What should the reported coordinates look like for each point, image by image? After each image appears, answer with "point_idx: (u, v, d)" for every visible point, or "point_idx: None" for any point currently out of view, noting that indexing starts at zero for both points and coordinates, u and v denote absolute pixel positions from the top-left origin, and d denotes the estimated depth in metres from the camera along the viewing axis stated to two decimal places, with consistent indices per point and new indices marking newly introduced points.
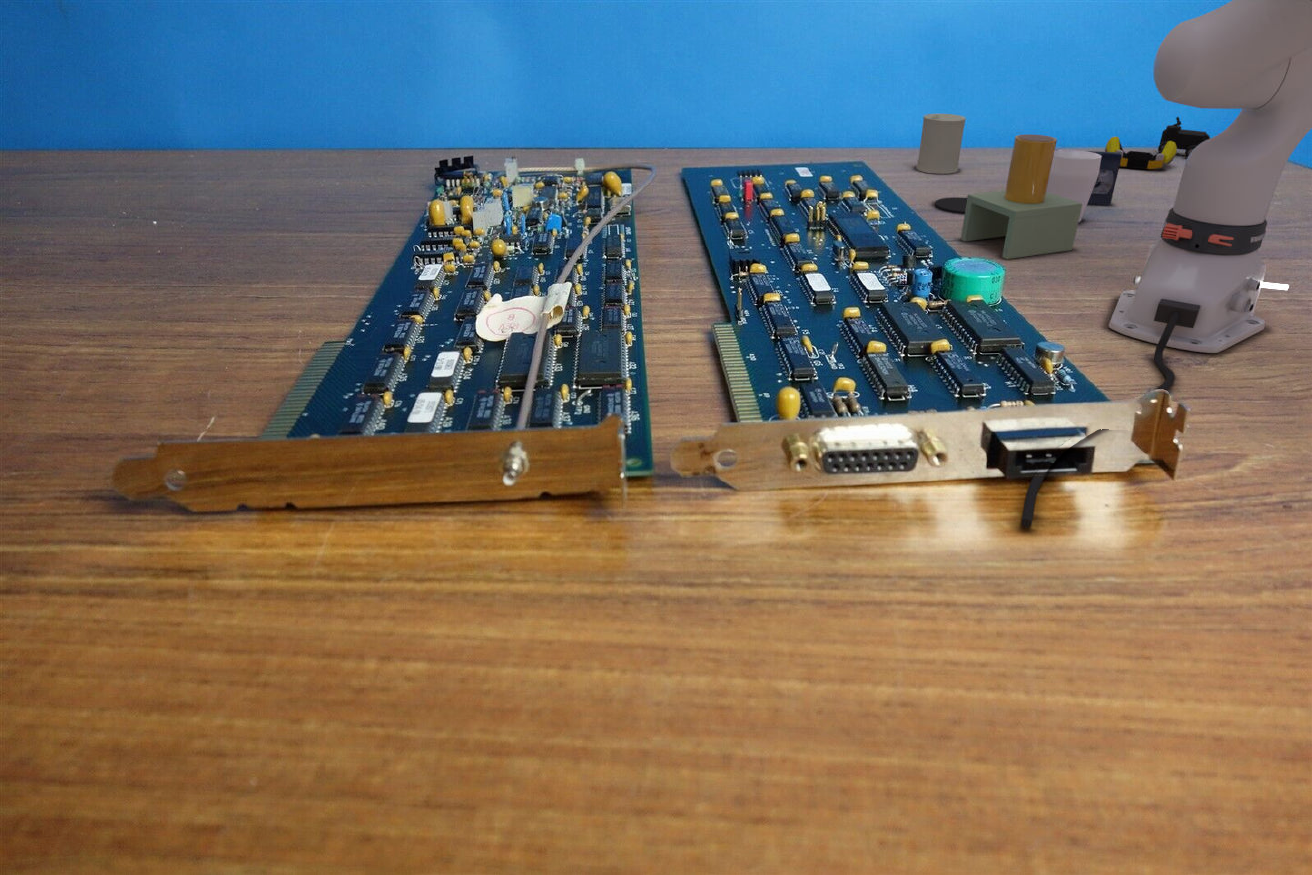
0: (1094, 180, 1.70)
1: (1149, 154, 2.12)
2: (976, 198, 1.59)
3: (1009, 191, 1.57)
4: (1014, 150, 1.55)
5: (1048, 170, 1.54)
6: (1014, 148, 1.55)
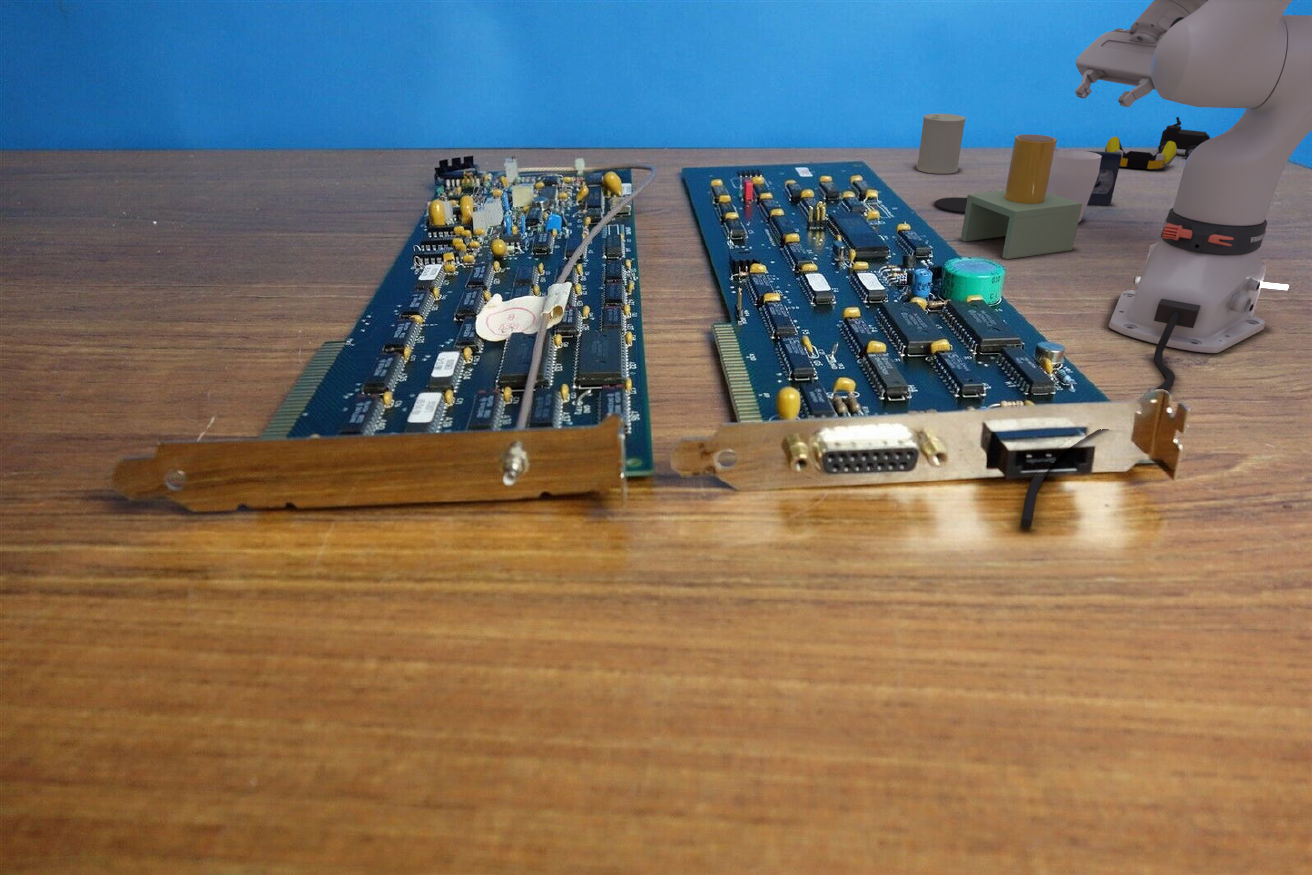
0: (1094, 180, 1.70)
1: (1149, 154, 2.12)
2: (976, 198, 1.59)
3: (1009, 191, 1.57)
4: (1014, 150, 1.55)
5: (1048, 170, 1.54)
6: (1014, 148, 1.55)
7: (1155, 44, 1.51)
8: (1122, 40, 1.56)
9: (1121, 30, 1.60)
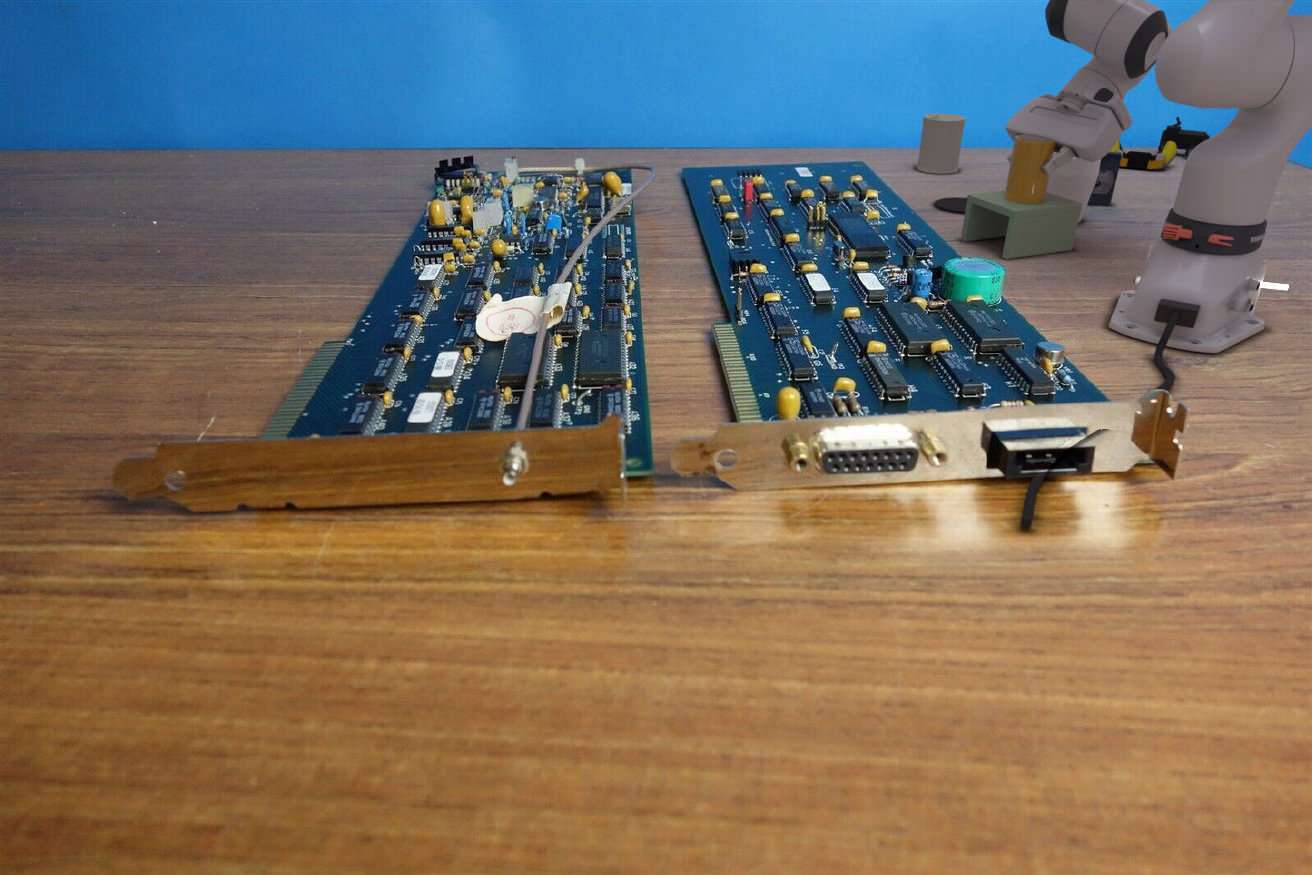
0: (1094, 180, 1.70)
1: (1149, 154, 2.12)
2: (976, 198, 1.59)
3: (1009, 191, 1.57)
4: (1014, 150, 1.55)
5: None
6: (1014, 148, 1.55)
7: (1080, 113, 1.51)
8: (1049, 107, 1.57)
9: (1050, 96, 1.60)
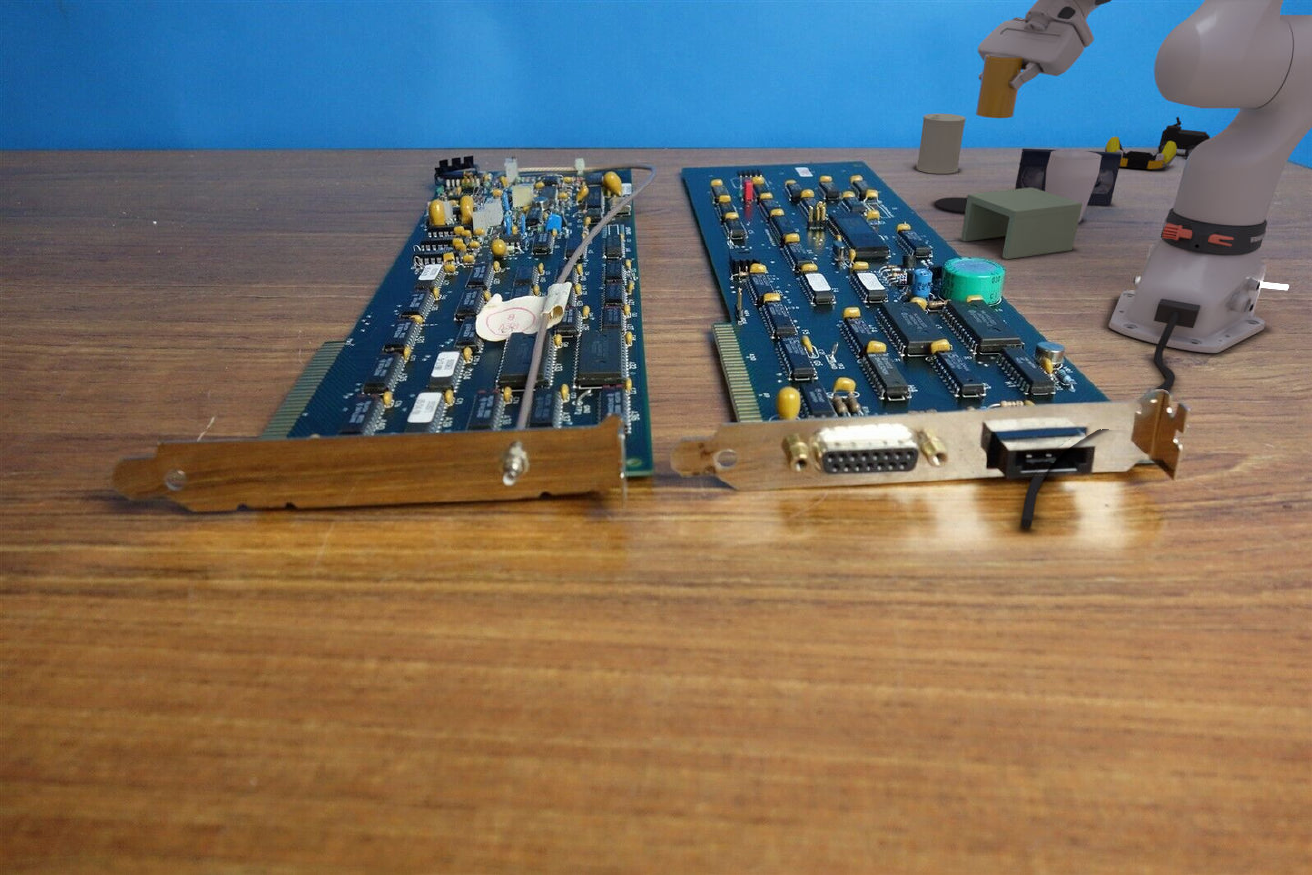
0: (1094, 180, 1.70)
1: (1149, 154, 2.12)
2: (976, 198, 1.59)
3: (980, 106, 1.68)
4: (984, 67, 1.65)
5: None
6: (984, 65, 1.65)
7: (1045, 32, 1.62)
8: (1018, 28, 1.67)
9: (1019, 19, 1.71)
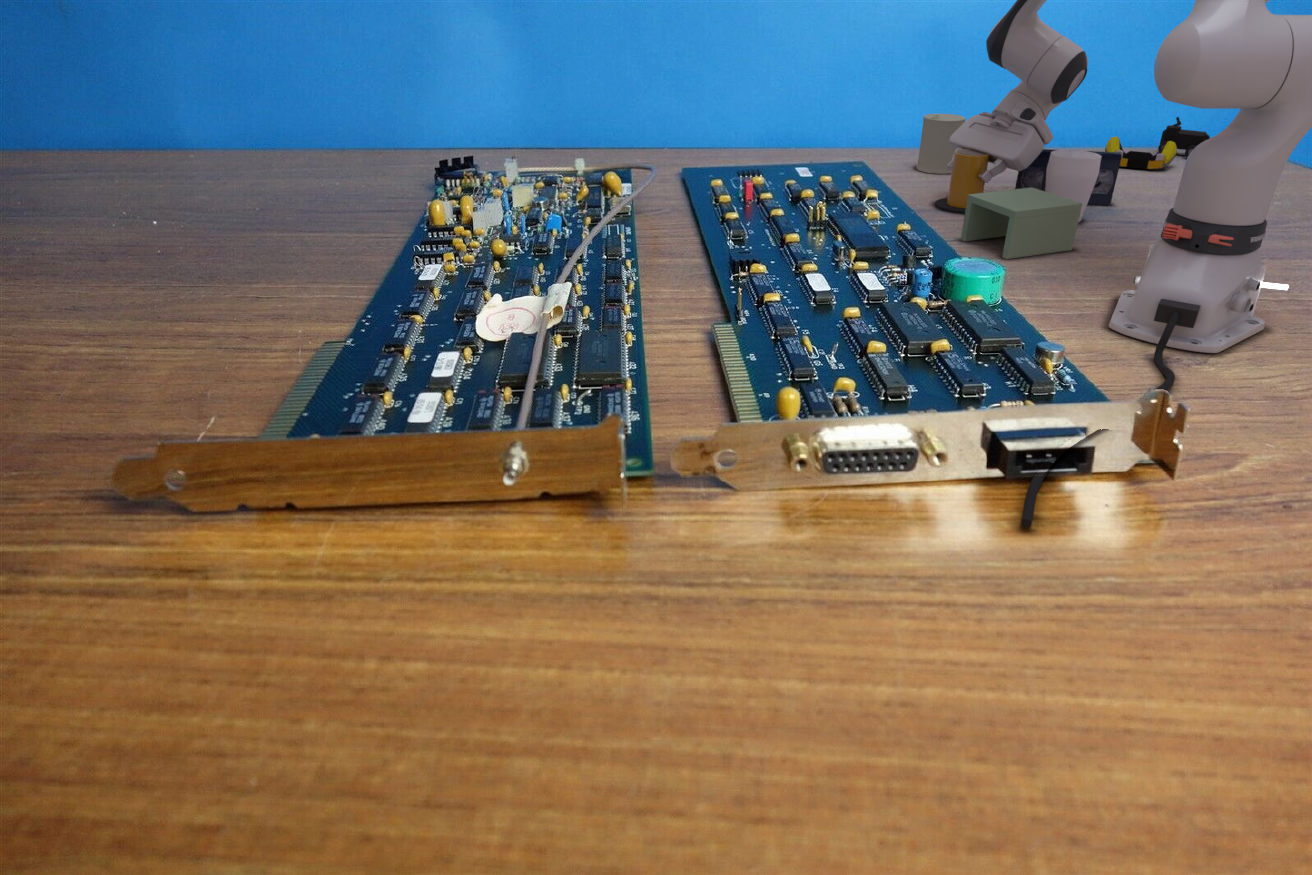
0: (1094, 180, 1.70)
1: (1149, 154, 2.12)
2: (976, 198, 1.59)
3: (950, 197, 1.83)
4: (954, 162, 1.80)
5: None
6: (954, 161, 1.80)
7: (1009, 129, 1.77)
8: (985, 123, 1.82)
9: (987, 113, 1.86)
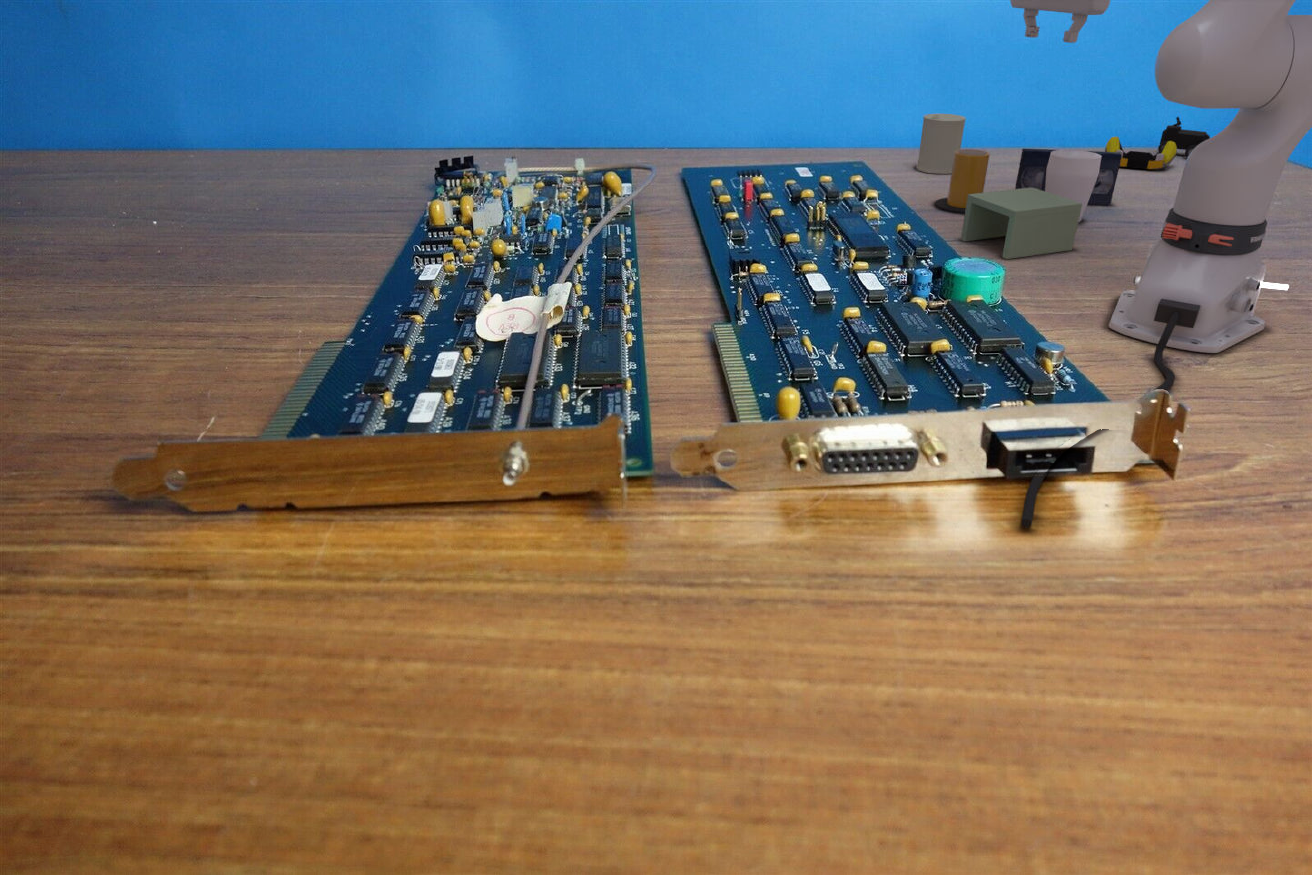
0: (1094, 180, 1.70)
1: (1149, 154, 2.12)
2: (976, 198, 1.59)
3: (950, 197, 1.83)
4: (954, 162, 1.80)
5: (982, 180, 1.80)
6: (954, 161, 1.80)
7: None
8: None
9: None
